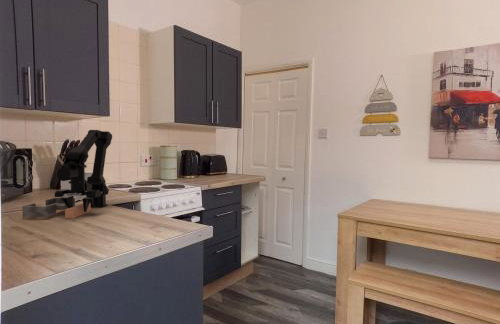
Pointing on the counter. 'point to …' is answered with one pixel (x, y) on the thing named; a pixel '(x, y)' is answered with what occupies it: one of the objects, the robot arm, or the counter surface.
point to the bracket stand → (45, 209)
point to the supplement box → (68, 186)
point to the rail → (76, 211)
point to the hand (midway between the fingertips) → (78, 212)
